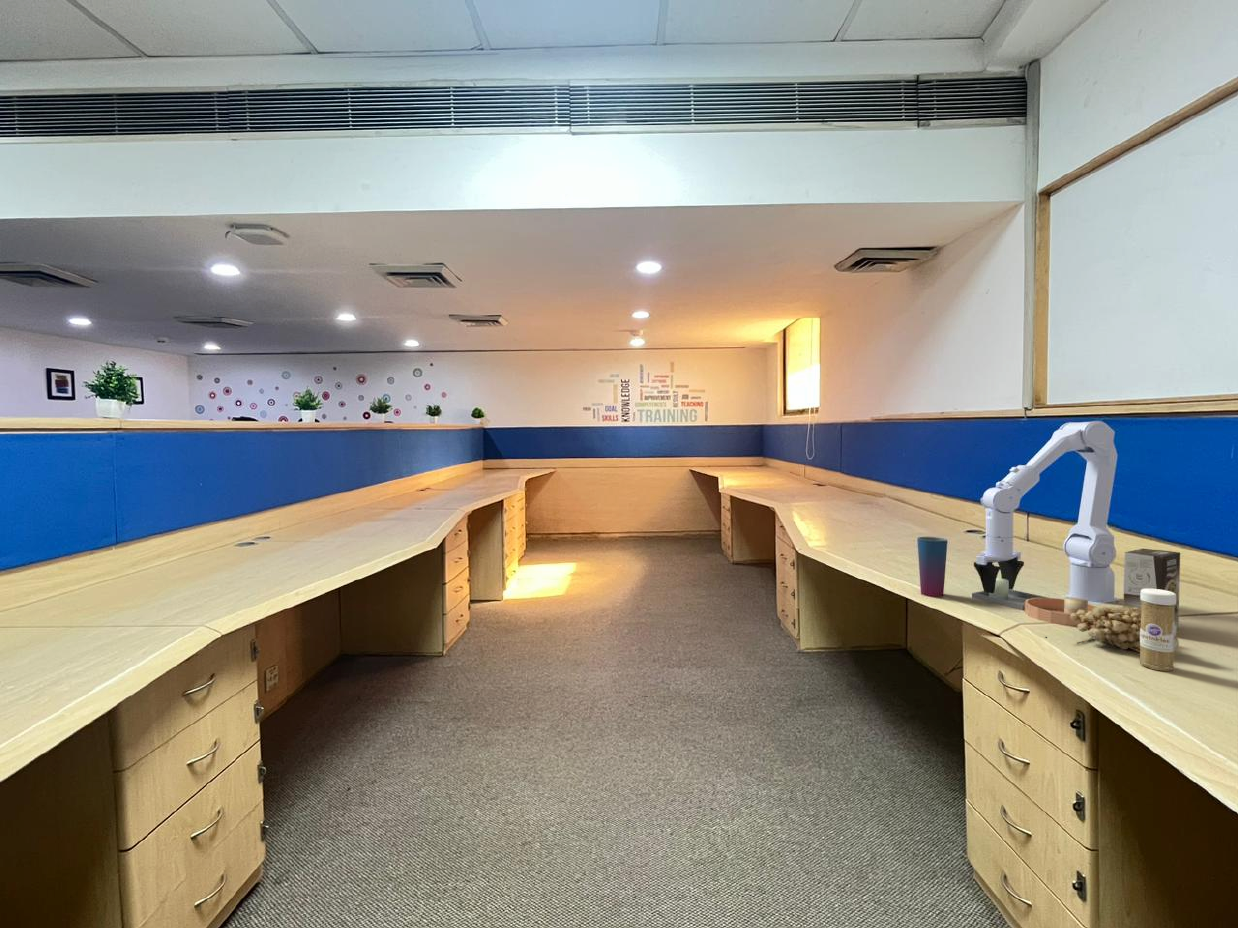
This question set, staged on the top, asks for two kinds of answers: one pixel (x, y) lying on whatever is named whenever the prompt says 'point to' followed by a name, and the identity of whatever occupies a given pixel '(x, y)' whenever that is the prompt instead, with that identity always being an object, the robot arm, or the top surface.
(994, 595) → the mint green rounded cylinder
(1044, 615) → the bowl
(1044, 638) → the top surface
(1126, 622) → the mineral formation
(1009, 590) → the tray
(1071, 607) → the beige rounded cylinder
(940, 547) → the cup
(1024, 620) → the top surface
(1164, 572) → the coffee box
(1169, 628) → the sprinkles bottle
